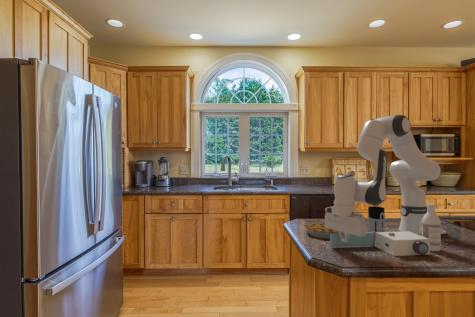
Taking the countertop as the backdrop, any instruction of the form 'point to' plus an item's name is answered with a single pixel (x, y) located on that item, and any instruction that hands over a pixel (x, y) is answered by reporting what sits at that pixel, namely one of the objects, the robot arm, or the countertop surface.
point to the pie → (320, 230)
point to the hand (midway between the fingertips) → (344, 242)
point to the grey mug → (376, 219)
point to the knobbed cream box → (402, 243)
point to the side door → (353, 240)
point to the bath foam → (432, 228)
